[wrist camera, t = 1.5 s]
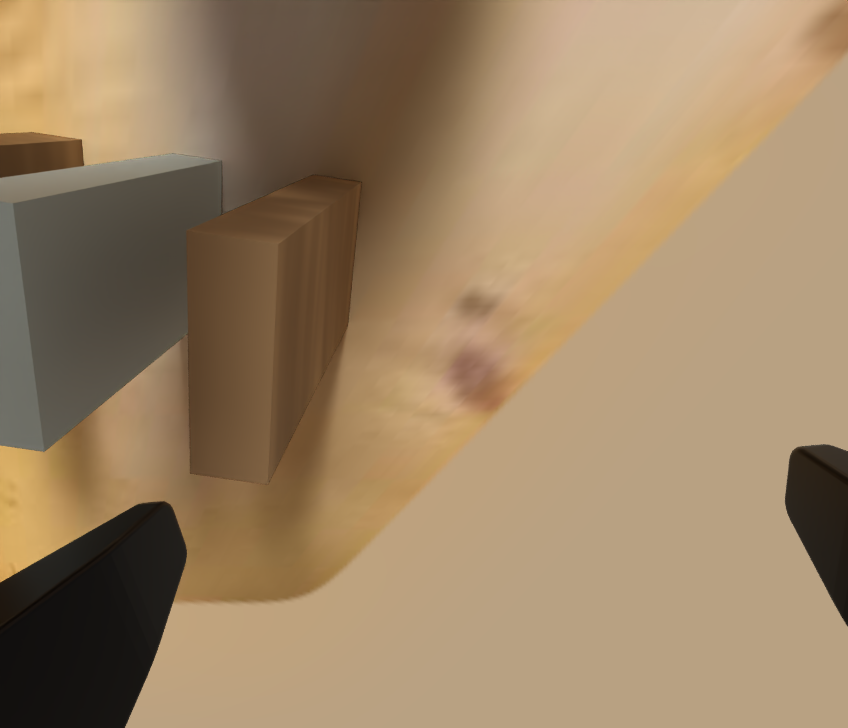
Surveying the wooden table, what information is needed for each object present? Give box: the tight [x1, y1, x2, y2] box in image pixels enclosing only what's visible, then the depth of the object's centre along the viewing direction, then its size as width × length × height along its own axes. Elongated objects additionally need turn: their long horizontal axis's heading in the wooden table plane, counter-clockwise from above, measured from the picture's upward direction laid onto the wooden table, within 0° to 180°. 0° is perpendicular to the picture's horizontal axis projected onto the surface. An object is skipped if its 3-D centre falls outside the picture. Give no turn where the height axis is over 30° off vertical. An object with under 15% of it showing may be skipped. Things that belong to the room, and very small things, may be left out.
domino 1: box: [0, 153, 222, 452], centre depth 16 cm, size 2×5×10 cm, turn 172°
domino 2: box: [186, 175, 362, 485], centre depth 16 cm, size 2×5×10 cm, turn 172°
